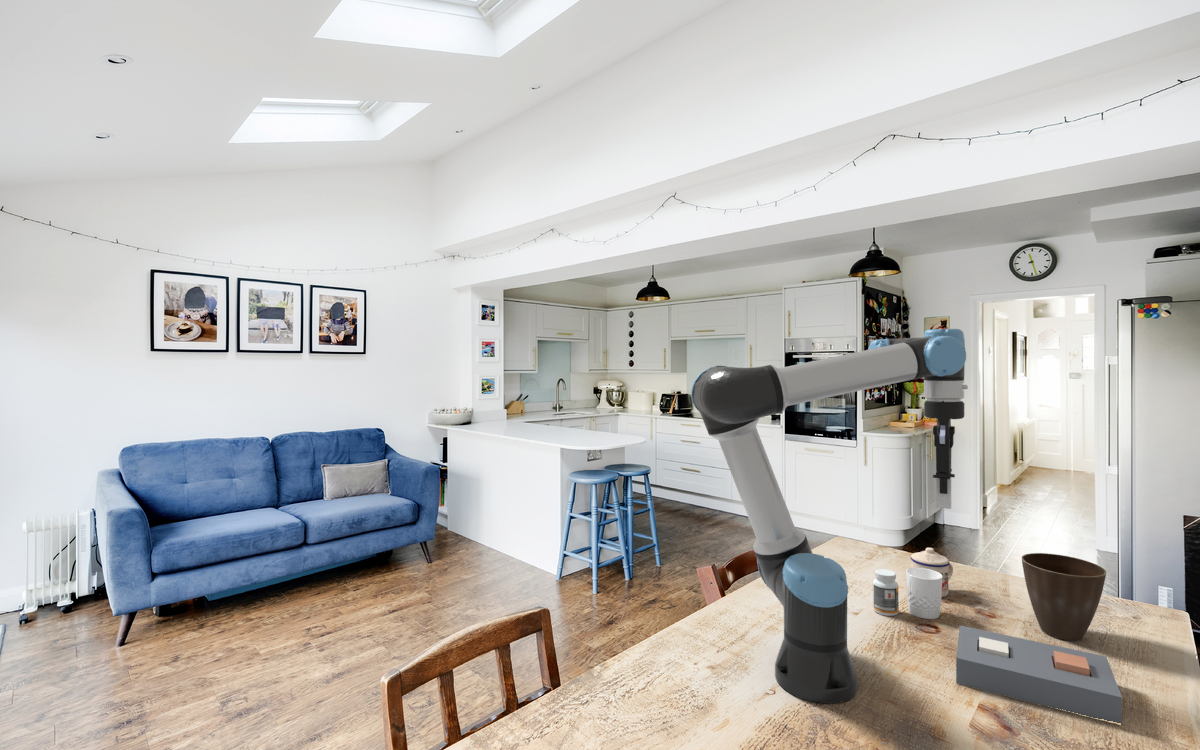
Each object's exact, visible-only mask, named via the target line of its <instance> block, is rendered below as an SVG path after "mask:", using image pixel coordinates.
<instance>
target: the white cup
mask: <svg viewBox="0 0 1200 750" xmlns="http://www.w3.org/2000/svg"><path fill="white" fill-rule="evenodd" d="M905 577H906V578H905V581H906V583H905V585H906V597H907V598H906V599H907V608H908V609H907V610H908V613H910V614H911V615H912V616H915V617H917V618H921V619H924V620H925V619H926V620H936V619H939V618H940V616H941V606H942V605H941V604H942V598H943V597H942V579H943V576H942V575H941V574H940V573H939V572H936V571H934V570H930V569H925V568H912V567H910V568H907V569H906V570H905Z"/></svg>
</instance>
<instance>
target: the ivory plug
mask: <svg viewBox="0 0 1200 750" xmlns="http://www.w3.org/2000/svg"><path fill="white" fill-rule="evenodd" d="M979 651H981V652H985V653H989V654H994V655H998V656H1002V657H1007V658H1009V651H1008V643H1006V642H1001V641H996V640H992V639H987V638H983V637H979Z"/></svg>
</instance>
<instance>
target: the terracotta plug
mask: <svg viewBox="0 0 1200 750" xmlns="http://www.w3.org/2000/svg"><path fill="white" fill-rule="evenodd" d="M1054 668H1055V669H1059V670H1063V671H1068V672H1072V673H1076V674H1081V675H1085V676H1089V677H1090V669H1089V665H1088V662H1087V659H1086V658H1085V657H1081V656H1076V655H1072V654H1067V653H1062V652H1058V651H1054Z"/></svg>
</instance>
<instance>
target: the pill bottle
mask: <svg viewBox="0 0 1200 750" xmlns="http://www.w3.org/2000/svg"><path fill="white" fill-rule="evenodd" d="M874 576H875V578H874V579H873V582H872V606H873V607H872V608H873V610H874V611H875V612H876V613H878V614H880V615H882V616H887V617H894V616H897V615H898V614H899V613H900V612H899V610H900V609H899V602H900V601H899V584H898V582H897V581H896V579H897V573H896V572H895V571H893V570H890V569H884V568H883V569H882V568H880V569H876V570H875V571H874Z"/></svg>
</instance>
